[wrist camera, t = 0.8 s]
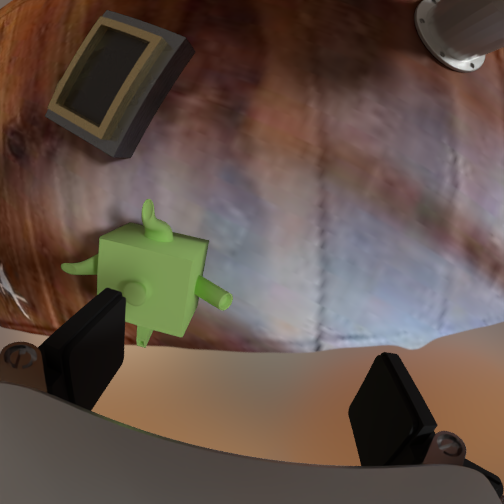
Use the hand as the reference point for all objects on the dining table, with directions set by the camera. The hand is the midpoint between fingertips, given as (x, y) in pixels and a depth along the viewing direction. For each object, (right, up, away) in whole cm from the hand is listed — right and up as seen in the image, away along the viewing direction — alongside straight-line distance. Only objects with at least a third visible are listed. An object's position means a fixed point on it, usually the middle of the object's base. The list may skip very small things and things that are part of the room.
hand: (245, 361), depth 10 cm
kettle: (-11, +3, +30) cm, 32 cm away
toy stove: (-17, +26, +23) cm, 39 cm away
